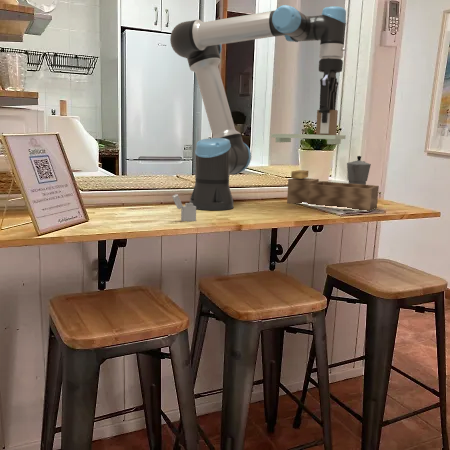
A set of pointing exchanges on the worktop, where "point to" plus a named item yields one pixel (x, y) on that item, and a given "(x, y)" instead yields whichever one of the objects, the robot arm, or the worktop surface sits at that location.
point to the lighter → (185, 209)
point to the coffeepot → (358, 171)
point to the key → (299, 174)
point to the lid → (317, 131)
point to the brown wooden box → (332, 193)
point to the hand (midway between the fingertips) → (325, 133)
